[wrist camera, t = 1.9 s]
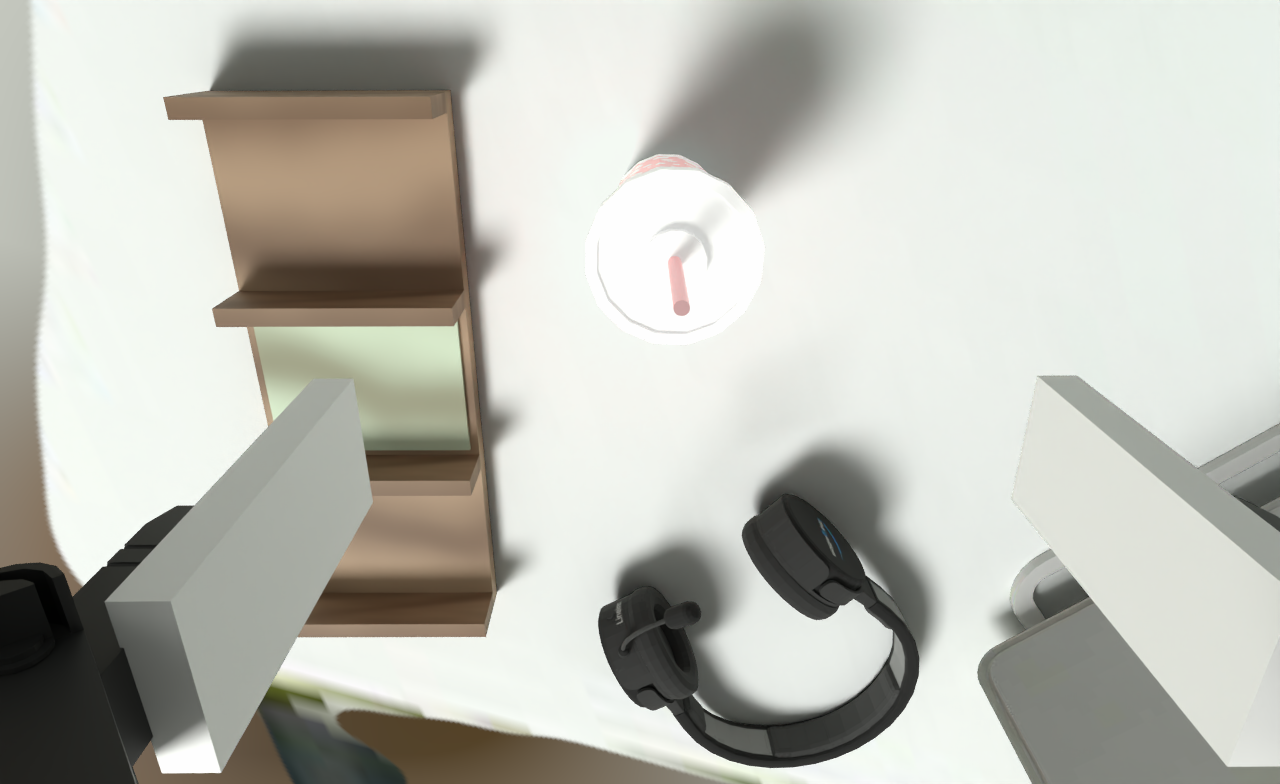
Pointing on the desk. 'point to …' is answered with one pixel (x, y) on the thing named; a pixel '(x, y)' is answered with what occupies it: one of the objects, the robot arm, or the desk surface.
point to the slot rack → (366, 329)
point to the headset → (812, 584)
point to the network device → (1102, 686)
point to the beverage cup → (673, 252)
